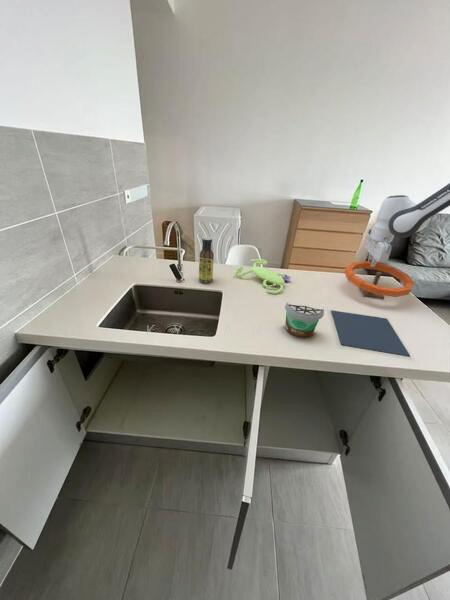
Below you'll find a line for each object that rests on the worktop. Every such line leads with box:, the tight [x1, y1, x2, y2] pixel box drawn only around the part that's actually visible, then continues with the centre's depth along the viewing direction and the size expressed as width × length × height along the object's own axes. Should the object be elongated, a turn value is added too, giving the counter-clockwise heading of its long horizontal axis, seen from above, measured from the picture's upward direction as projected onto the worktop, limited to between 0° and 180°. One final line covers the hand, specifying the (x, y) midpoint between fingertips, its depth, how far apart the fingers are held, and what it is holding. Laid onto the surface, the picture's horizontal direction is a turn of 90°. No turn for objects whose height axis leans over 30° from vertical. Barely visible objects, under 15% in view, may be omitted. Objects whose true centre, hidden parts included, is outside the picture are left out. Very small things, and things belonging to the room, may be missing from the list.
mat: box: [330, 309, 411, 357], centre depth 84 cm, size 20×20×1 cm
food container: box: [284, 301, 325, 339], centre depth 78 cm, size 12×6×10 cm, turn 76°
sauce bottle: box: [198, 236, 215, 284], centre depth 105 cm, size 6×6×20 cm
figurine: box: [234, 258, 291, 295], centre depth 113 cm, size 18×27×6 cm
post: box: [358, 271, 385, 300], centre depth 105 cm, size 8×8×10 cm
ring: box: [344, 260, 415, 298], centre depth 103 cm, size 25×25×3 cm
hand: (370, 264), depth 112 cm, fingers closed on ring, 2 cm apart
